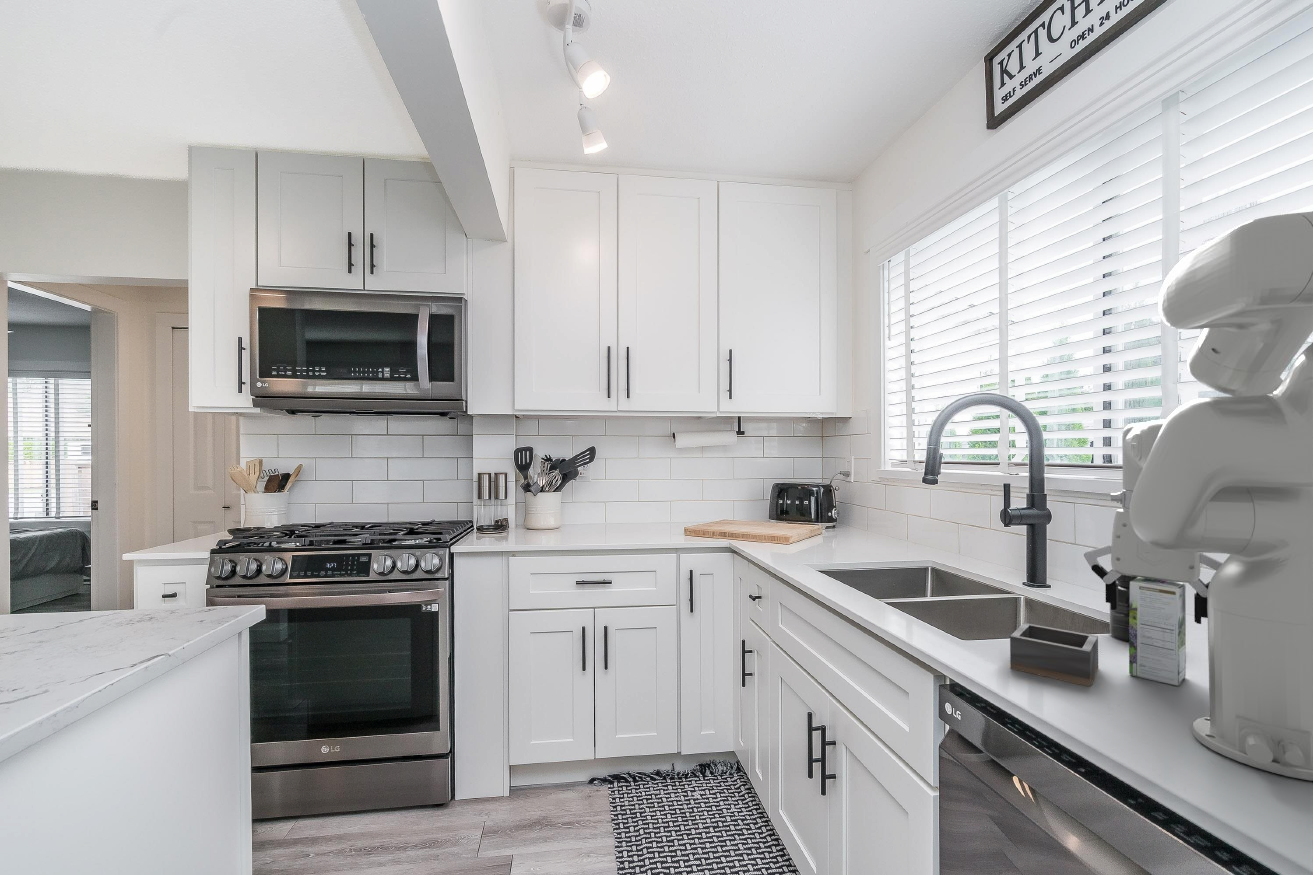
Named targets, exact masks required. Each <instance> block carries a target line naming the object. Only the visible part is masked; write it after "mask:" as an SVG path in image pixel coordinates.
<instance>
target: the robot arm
mask: <svg viewBox="0 0 1313 875" xmlns="http://www.w3.org/2000/svg"><path fill="white" fill-rule="evenodd" d="M1158 312H1159V315H1160V317H1161V319H1162V321H1163V322H1164V324H1166V325H1167V326H1169V327H1170V328H1173V329H1176V330H1184V331H1185V330H1187V331H1188V330H1189V331H1190V330H1202V332H1201V334H1200V335H1199V337H1198V339H1197V342H1196V343H1195V345H1194V347H1193V348H1192V350H1191V352H1190V353H1189V356H1188V358H1187V362H1186V364H1187V369H1188V371H1189V373H1190V375H1191V376H1192V377H1193V378H1194V379H1196V381H1198V382H1199V383H1200V384H1202V385H1203V386H1206V387H1207V388H1210V389H1212V390H1214V391H1216V392H1219V393H1222V394H1224V395H1226V396H1212V397H1202V398H1197V399H1193V400H1190V401H1189V402H1186V403H1184V404H1182V405H1180V406H1178V407H1177V408H1176V409H1175V410H1174V411H1173V412H1171V413H1170V415H1169V416H1168V417H1167V418H1166V419H1156V420H1150V421H1146V422H1136V423H1130V424H1127V425H1126V426H1125V427H1124V428H1123V431H1122V439H1121V440H1122V441H1121V442H1122V443H1121V445H1122V450H1121V451H1122V490H1121V491H1120V492H1116V493H1111V492H1110V502H1111V503H1116V504H1119V505H1121V507H1122V508H1120V509H1116V511H1115V514H1114V518H1113V523H1112V534H1111V544H1110V543H1109V544H1107V545H1104V546H1101V547H1098V548H1097V547H1096V548H1095V549H1090V550H1088V551H1085V553H1083V557H1084V560H1086V562H1087V564H1088V566H1089V567H1090V568H1091V571H1092V572H1093V573H1094V574H1096V576H1098V578H1099V579H1101V580H1102V581H1103V583H1104V584H1105V603H1108V604H1110V603H1111V610H1117V608H1118V583H1117V582H1116V579H1117V578H1118V577H1120V576H1121V575H1127V576H1133V577H1141V578H1149V579H1157V580H1165V581H1173V582H1181V583H1184V584H1188V585H1190V586H1191V587H1192V589H1193V590H1194V591H1196V592H1194V596H1193V597H1194V599H1193V600H1194V601H1193V602H1194V603H1193V604H1194V611H1193V612H1194V613H1193V614H1194V615H1193V616H1194V617H1193V618H1194V623H1196V624H1199V625H1202V618H1205V619H1207V645H1208V646H1207V648H1208V649H1207V650H1208V652H1207V654H1208V694H1209V696H1208V697H1209V698H1208V700H1209V702H1208V704H1209V716H1206V717H1200V718H1197V719H1194V720H1193V722H1192V724H1191V726H1192V727H1191V732H1192V735H1193V736H1194V738H1195V739H1196V740H1197V741H1198V742H1199V743H1201V744H1203V745H1204V746H1205V747H1207V748H1209V749H1211V750H1213V752H1216V753H1219V754H1220V755H1221V756H1224V757H1227V758H1229V759H1231V760H1233V761H1237V762H1239V763H1241V764H1245V765H1247V766H1250V767H1252V768H1255V769H1260V770H1262V771H1266V772H1269V773H1271V774H1272V773H1274V774H1277V775H1281V776H1284V777H1288V778H1289V777H1290V778H1294V779H1300V780H1304V781H1312V782H1313V342H1312V343H1310V344H1309V345H1308V346H1307V347H1306V348H1305V349H1304V350H1303V351H1302V352H1301V353H1299V351H1301V348H1302V347H1303V345H1304V344H1305V343H1306V342H1307V340H1308V339H1309V337H1310V336H1311V335H1312V334H1313V211H1305V212H1293V213H1286V214H1278V215H1269V216H1264V217H1261V218H1257V219H1253V220H1249V221H1246V222H1244V223H1242V224H1240V225H1237V226H1236V227H1234V228H1232V229H1230V230H1228V231H1226V232H1225V233H1223V234H1221V235H1219V236H1218V237H1216V238H1214V239H1213V240H1210V241H1209V242H1206V243H1205V244H1203V245H1202V246H1200V247H1198V248H1196V249H1195V250H1193V251H1192V252H1190V253H1189V254H1187V255H1185V257H1183V258H1182V259H1180V261H1179V262H1178V263H1177V264H1175V266H1174V267H1173V268H1172V269H1171V271H1170V272H1169V274H1168V275H1167V276H1166V278H1165V280H1164V282H1163V283H1162V287H1161V288H1160V292H1159V295H1158ZM1298 353H1299V355H1298V356H1297V354H1298ZM1296 356H1297V358H1296V359H1295V360H1294V362H1293V363H1292V365H1291V367H1290V369H1289V371H1288V372H1287V374H1286V376H1285V378H1284V379H1282V377H1281V376H1282V374H1283V373H1284V372H1285V370H1286V369H1287V367H1288V366H1289V365H1290V364H1291V362H1292V360H1293V359H1294V357H1296ZM1227 395H1228V396H1227ZM1204 553H1205V554H1204ZM1207 553H1209V554H1227V555H1229V556H1227V557H1226V559H1225V560H1224V561H1223V562H1222V561H1220V560H1217V559H1215V558H1213V557H1211V556H1210V555H1209V556H1208V555H1207ZM1108 555H1110V562H1111V563H1110V565H1111V570H1109V571H1107V569H1106V568H1104V566H1102V565H1101V564H1100V562H1099V560H1098V558H1101V557H1104V556H1108ZM1201 564H1202V565H1204V566H1206V567H1209V568H1211V569H1213V570H1214V571H1215V572H1214V573H1213V576H1212V577H1211V578H1210V581H1208V582H1207V583H1205V582H1204V581H1202V579H1201V578H1200V577H1201V570H1202V569H1201V568H1202V566H1201Z"/></svg>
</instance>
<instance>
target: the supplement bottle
mask: <svg viewBox="0 0 1313 875" xmlns="http://www.w3.org/2000/svg"><path fill="white" fill-rule="evenodd" d="M1136 578H1138V577H1133V576H1127V575H1121V576H1120V577H1118V578H1117V579H1116V582H1117V583H1118V608H1117V610H1111V603H1109V633H1110V635H1111V636H1112V637H1113V636H1114V638H1115V639H1118V640H1120V641H1125V642H1129V609H1130V581H1132V580H1134V579H1136Z"/></svg>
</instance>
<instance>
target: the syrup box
mask: <svg viewBox="0 0 1313 875" xmlns="http://www.w3.org/2000/svg"><path fill="white" fill-rule="evenodd" d="M1186 585H1187V583H1182V582H1173V581H1165V580H1157V579H1149V578H1141V577H1138V578H1136V579H1134V580H1132V581H1130V609H1129V641H1128V646H1129V647H1128V648H1129V649H1128V651H1129V652H1128V653H1129V655H1128V660H1129V661H1128V664H1129V665H1128V674H1129V675H1130V676H1133V677H1137V678H1141V679H1146V680H1151V681H1154V682H1159V683H1163V684H1166V685H1171V686H1180V685H1181V683H1182V682H1183V680H1184V679H1185V678H1186V676H1187V674H1186V673H1187V672H1186V670H1187V669H1186V667H1187V666H1186V663H1187V660H1186V658H1187V653H1186V649H1187V648H1186V641H1187V640H1186V636H1187V630H1186V629H1187V628H1186V627H1187V626H1186V625H1187V624H1186V623H1187V622H1186V621H1187V620H1186V618H1187V616H1186V611H1187V610H1186V608H1187V606H1186V600H1187V599H1186V598H1187V597H1186V595H1187V594H1186V591H1187V590H1186V588H1187V587H1186Z"/></svg>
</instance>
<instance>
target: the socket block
mask: <svg viewBox="0 0 1313 875" xmlns="http://www.w3.org/2000/svg"><path fill="white" fill-rule="evenodd" d="M1009 646H1010V647H1009V648H1010V650H1009V651H1010V652H1009V653H1010V654H1009V656H1010V657H1009V658H1010V661H1009V662H1010V665H1009V666H1010V668H1009V669H1012V670H1016V671H1019V672H1024V673H1030V674H1034V675H1038V676H1043V677H1047V678H1052V679H1055V680H1059V681H1064V682H1069V683H1073V684H1076V685H1077V684H1078V685H1082V686H1086V687H1091V686H1092V684H1093V681H1094V679H1095V676H1096V675H1097V672H1098V670H1099V636H1098V635H1094V634H1090V633H1089V634H1088V633H1083V632H1077V631H1072V630H1066V629H1061V628H1055V627H1050V626H1045V625H1044V626H1043V625H1038V624H1033V623H1027V622H1023V623H1022V624H1021V625H1020V626H1019V627H1018V628H1016V630H1015V631H1014V632H1012V634H1011V635H1010V636H1009Z"/></svg>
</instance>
